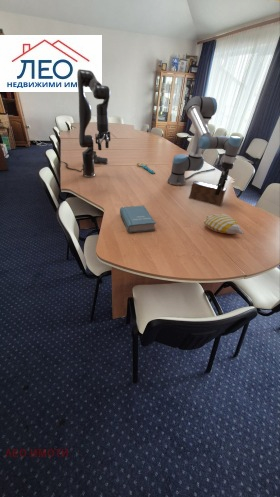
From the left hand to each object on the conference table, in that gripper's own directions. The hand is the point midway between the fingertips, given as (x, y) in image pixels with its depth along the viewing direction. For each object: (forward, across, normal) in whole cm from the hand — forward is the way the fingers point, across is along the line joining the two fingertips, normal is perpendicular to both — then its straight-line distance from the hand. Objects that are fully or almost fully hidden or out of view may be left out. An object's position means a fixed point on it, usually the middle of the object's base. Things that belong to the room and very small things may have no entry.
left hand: (103, 149), depth 155 cm
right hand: (+22, -30, +81) cm, 89 cm away
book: (+31, +29, +44) cm, 61 cm away
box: (+31, -30, +73) cm, 85 cm away
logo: (+31, -74, 0) cm, 80 cm away
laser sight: (+31, -57, -51) cm, 82 cm away
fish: (+31, +8, +93) cm, 99 cm away
